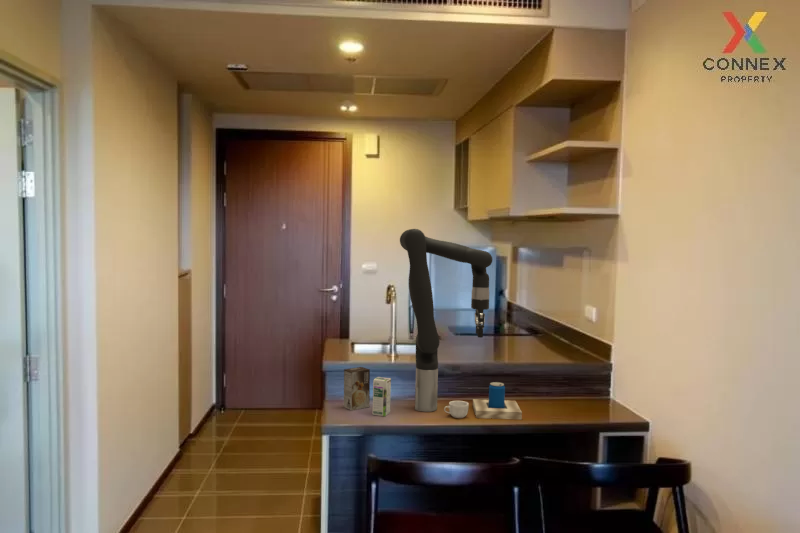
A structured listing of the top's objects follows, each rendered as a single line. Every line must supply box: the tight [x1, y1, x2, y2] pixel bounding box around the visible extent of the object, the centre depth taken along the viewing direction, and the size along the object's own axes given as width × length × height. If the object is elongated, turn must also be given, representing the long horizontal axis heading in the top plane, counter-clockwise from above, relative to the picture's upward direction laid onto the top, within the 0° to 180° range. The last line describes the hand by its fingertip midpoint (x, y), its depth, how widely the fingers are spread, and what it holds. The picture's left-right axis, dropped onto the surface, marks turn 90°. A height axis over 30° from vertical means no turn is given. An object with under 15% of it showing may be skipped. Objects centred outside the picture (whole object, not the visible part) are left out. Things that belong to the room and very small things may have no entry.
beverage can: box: [488, 381, 506, 408], centre depth 239 cm, size 6×6×12 cm
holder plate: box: [472, 398, 523, 420], centre depth 239 cm, size 18×16×3 cm
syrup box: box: [371, 376, 392, 417], centre depth 233 cm, size 6×6×14 cm
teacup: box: [443, 400, 470, 419], centre depth 232 cm, size 10×8×5 cm
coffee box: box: [343, 366, 371, 411], centre depth 242 cm, size 9×6×16 cm
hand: (479, 335), depth 247 cm, fingers open, 8 cm apart
